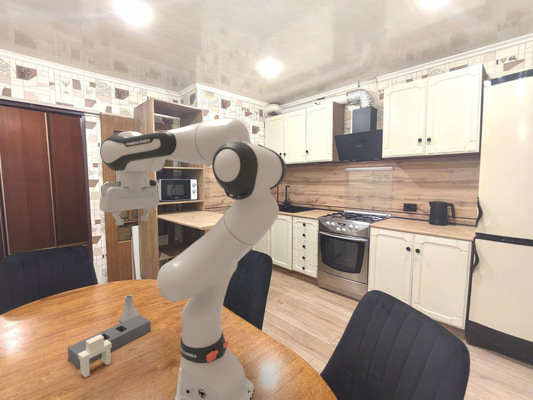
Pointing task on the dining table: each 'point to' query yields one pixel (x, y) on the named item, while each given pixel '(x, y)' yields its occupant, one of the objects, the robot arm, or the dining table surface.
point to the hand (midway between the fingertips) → (132, 222)
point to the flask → (128, 309)
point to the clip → (94, 353)
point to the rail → (113, 337)
